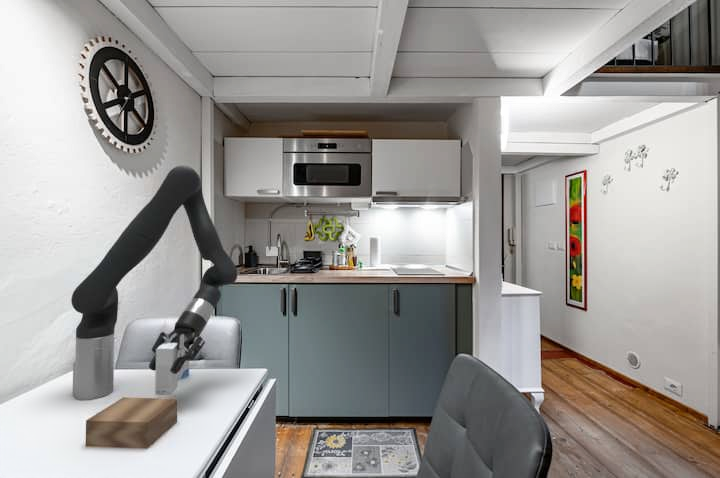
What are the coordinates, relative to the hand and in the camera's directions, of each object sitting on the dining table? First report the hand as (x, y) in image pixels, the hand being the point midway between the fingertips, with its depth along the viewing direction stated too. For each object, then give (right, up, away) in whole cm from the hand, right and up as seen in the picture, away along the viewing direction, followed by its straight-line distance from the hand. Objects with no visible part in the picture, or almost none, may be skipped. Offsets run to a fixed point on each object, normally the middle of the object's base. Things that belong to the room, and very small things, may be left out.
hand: (162, 370), depth 97 cm
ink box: (-8, -11, +23) cm, 26 cm away
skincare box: (0, -6, +2) cm, 6 cm away
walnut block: (-1, -11, -11) cm, 16 cm away
